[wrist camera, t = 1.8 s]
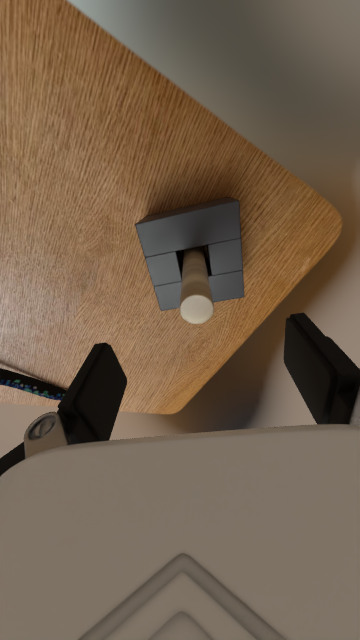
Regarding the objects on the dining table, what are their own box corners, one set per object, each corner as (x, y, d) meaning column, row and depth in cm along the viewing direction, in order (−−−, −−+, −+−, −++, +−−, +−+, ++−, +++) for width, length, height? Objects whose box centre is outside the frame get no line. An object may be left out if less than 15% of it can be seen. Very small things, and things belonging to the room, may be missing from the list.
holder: (145, 216, 26) (134, 224, 21) (229, 196, 25) (239, 200, 20) (165, 290, 31) (160, 311, 26) (235, 278, 30) (244, 297, 25)
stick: (182, 242, 28) (175, 297, 14) (201, 238, 27) (211, 291, 14) (186, 260, 29) (183, 326, 15) (203, 256, 28) (216, 321, 15)
